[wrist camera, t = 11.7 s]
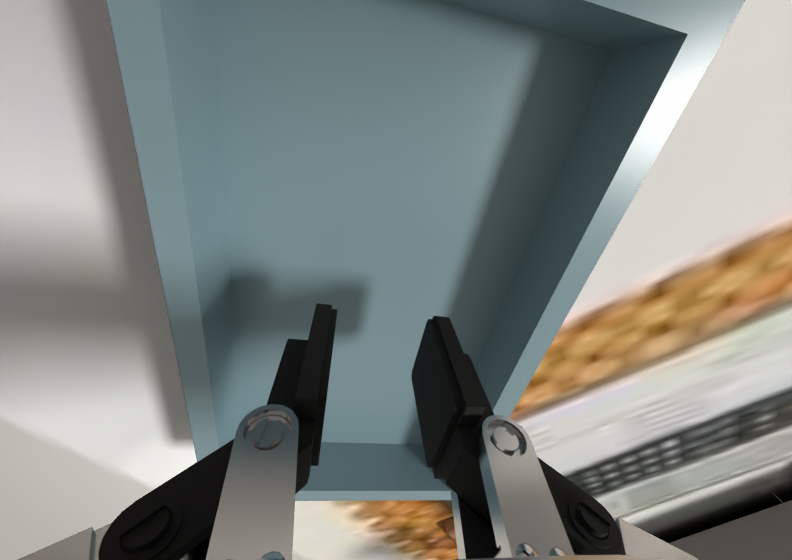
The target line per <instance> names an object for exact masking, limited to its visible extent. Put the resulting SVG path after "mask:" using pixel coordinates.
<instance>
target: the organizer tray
mask: <svg viewBox="0 0 792 560" xmlns="http://www.w3.org/2000/svg"><path fill="white" fill-rule="evenodd" d="M771 492H772V491H771ZM772 493H773V492H772ZM773 494H774V493H773ZM774 495H775V494H774ZM775 496H776V495H775ZM776 497H777V496H776ZM777 498H778V497H777ZM778 499H779V498H778ZM779 500H780V499H779ZM780 501H781V500H780ZM781 502H782V501H781ZM669 544H671V545H673V546H674V547H676V548H678V549H680V550H682V551H684V552H686V553H688V554H690V555H692V556H694V557H695V558H697V559H698V560H792V500H790V501H788V502H785V503H783V502H782V504H779V505H776V506H773V507H770V508H768V509H765V510H762V511H759V512H756V513H753V514H750V515H748V516H745V517H742V518H739V519H736V520H733V521H731V522H728V523H725V524H722V525H719V526H716V527H713V528H711V529H708V530H705V531H702V532H699V533H696V534H693V535H691V536H688V537H685V538H682V539H679V540H676V541H673V542H671V543H669Z"/></svg>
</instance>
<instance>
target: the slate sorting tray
mask: <svg viewBox="0 0 792 560" xmlns="http://www.w3.org/2000/svg"><path fill="white" fill-rule="evenodd" d="M744 2H745V0H107V5H108V10H109V15H110V20H111V25H112V31H113V36H114V41H115V46H116V51H117V56H118V61H119V66H120V71H121V76H122V81H123V87H124V92H125V97H126V102H127V107H128V112H129V117H130V122H131V127H132V132H133V137H134V142H135V148H136V153H137V158H138V163H139V168H140V173H141V178H142V183H143V188H144V193H145V198H146V204H147V209H148V214H149V219H150V224H151V229H152V234H153V239H154V244H155V249H156V254H157V260H158V265H159V270H160V275H161V280H162V285H163V290H164V295H165V300H166V305H167V310H168V315H169V321H170V326H171V331H172V336H173V341H174V346H175V351H176V356H177V361H178V366H179V371H180V377H181V382H182V387H183V392H184V397H185V402H186V407H187V412H188V417H189V422H190V427H191V433H192V438H193V443H194V448H195V453H196V458H197V462H198V461H200V460H201V459H203V458H205V457H206V456H208V455H209V454H211V453H212V452H214V451H216V450H217V449H219V448H220V447H222V446H223V445H225V444H227V443H228V442H230V441H231V440H233V439H234V438H235V434H236V431H237V428H238V426H239V423H240V422H241V421H242V419H243V418H244V417H245V416H246V415H247V414H248V413H250V412H251V411H253V410H254V409H256V408H259V407H261V406H264V405H267V402H268V398H269V395H270V392H271V389H272V386H273V383H274V380H275V376H276V373H277V370H278V367H279V364H280V361H281V358H282V355H283V351H284V348H285V345H286V342H287V340H288V338H289V339H300V340H308V337H309V333H310V329H311V324H312V320H313V316H314V311H315V307H316V304H317V303H319V304H329V305H332V309H337V318H336V326H335V335H334V343H333V351H332V359H331V368H330V376H329V384H328V392H327V400H326V408H325V416H324V424H323V432H322V440H321V448H320V456H319V464H318V466H311V469H310V476H309V478H308V484H306V485H305V486H304V487H303V488H302V489H301V490H300V491H299V492H298V493H296V494H295V501H356V500H451V488H450V487H449V486H448V485H447V484H446V482H445V479H434V475H433V470H432V468H429V467H428V466H427V463H426V458H425V452H424V447H423V441H422V436H421V430H420V424H419V419H418V413H417V407H416V402H415V396H414V390H413V385H412V378H411V376H412V369H413V366H414V362H415V359H416V356H417V352H418V349H419V346H420V342H421V339H422V336H423V333H424V329H425V326H426V323H427V320H428V319H432V318H433V316H442V317H449V318H450V320H451V323H452V325H453V328H454V330H455V333H456V335H457V338H458V340H459V342H460V345H461V347H462V350H463V352H464V353H465V354H468V355H469V357H470V358H471V361H472V363H473V365H474V368H475V370H476V372H477V375H478V377H479V380H480V382H481V384H482V387H483V389H484V391H485V394H486V396H487V398H488V401H489V403H490V405H491V408H492V410H493V413H494V415H501V416H505V417H508V418H509V417H510V415H511V413H512V412H513V410H514V408H515V406H516V405H517V403H518V401H519V399H520V397H521V396H522V394H523V392H524V390H525V389H526V387H527V385H528V383H529V382H530V380H531V378H532V376H533V374H534V373H535V371H536V369H537V367H538V366H539V364H540V362H541V360H542V359H543V357H544V355H545V353H546V352H547V350H548V348H549V346H550V344H551V343H552V341H553V339H554V337H555V336H556V334H557V332H558V330H559V329H560V327H561V325H562V323H563V321H564V320H565V318H566V316H567V314H568V313H569V311H570V309H571V307H572V306H573V304H574V302H575V300H576V299H577V297H578V295H579V293H580V291H581V290H582V288H583V286H584V284H585V283H586V281H587V279H588V277H589V276H590V274H591V272H592V270H593V268H594V267H595V265H596V263H597V261H598V260H599V258H600V256H601V254H602V253H603V251H604V249H605V247H606V246H607V244H608V242H609V240H610V238H611V237H612V235H613V233H614V231H615V230H616V228H617V226H618V224H619V223H620V221H621V219H622V217H623V215H624V214H625V212H626V210H627V208H628V207H629V205H630V203H631V201H632V200H633V198H634V196H635V194H636V193H637V191H638V189H639V187H640V185H641V184H642V182H643V180H644V178H645V177H646V175H647V173H648V171H649V170H650V168H651V166H652V164H653V162H654V161H655V159H656V157H657V155H658V154H659V152H660V150H661V148H662V147H663V145H664V143H665V141H666V140H667V138H668V136H669V134H670V132H671V131H672V129H673V127H674V125H675V124H676V122H677V120H678V118H679V117H680V115H681V113H682V111H683V109H684V108H685V106H686V104H687V102H688V101H689V99H690V97H691V95H692V94H693V92H694V90H695V88H696V87H697V85H698V83H699V81H700V79H701V78H702V76H703V74H704V72H705V71H706V69H707V67H708V65H709V64H710V62H711V60H712V58H713V56H714V55H715V53H716V51H717V49H718V48H719V46H720V44H721V42H722V41H723V39H724V37H725V35H726V34H727V32H728V30H729V28H730V26H731V25H732V23H733V21H734V19H735V18H736V16H737V14H738V12H739V11H740V9H741V7H742V5H743V3H744Z"/></svg>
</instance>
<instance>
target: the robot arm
mask: <svg viewBox="0 0 792 560" xmlns="http://www.w3.org/2000/svg"><path fill="white" fill-rule="evenodd" d="M336 318H337V309H332V305H329V304H319V303H317V304H316V307H315V311H314V316H313V320H312V324H311V329H310V333H309V337H308V340H300V339H289V338H288V340H287V342H286V345H285V348H284V351H283V355H282V358H281V361H280V364H279V367H278V370H277V373H276V376H275V380H274V383H273V386H272V389H271V392H270V395H269V398H268V402H267V405H264V406H261V407H259V408H256V409H254V410H253V411H251V412H250V413H248V414H247V415H246V416H245V417H244V418H243V419H242V421H241V422H240V423H239V426H238V428H237V431H236V434H235V438H234V439H233V440H231V441H230V442H228V443H227V444H225V445H223V446H222V447H220V448H219V449H217V450H216V451H214V452H212V453H211V454H209V455H208V456H206V457H205V458H203V459H201V460H200V461H198V462H197V463H195V464H194V465H192V466H190V467H189V468H187V469H186V470H184V471H183V472H181V473H179V474H178V475H176V476H175V477H173V478H172V479H170V480H168V481H167V482H165V483H164V484H162V485H161V486H159V487H157V488H156V489H154V490H153V491H151V492H150V493H148V494H146V495H145V496H143V497H142V498H140V499H139V500H137V501H135V502H134V503H133V504H132V505H130V506H129V507H128V508H126V509H125V510H124V511H123V512H122V513H121V514H120V515H119V516H118V517H117V518H116V519H115V520H114V521H113V522H112V523H111V524H108V525H106V526H104V527H102V528H99V529H97V530H95V531H94V530H93V528H92V527H91V528H88V529H86V530H84V531H81V532H79V533H77V534H75V535H72V536H70V537H68V538H65V539H63V540H61V541H59V542H56V543H54V544H52V545H50V546H47V547H45V548H43V549H41V550H38V551H36V552H34V553H32V554H29V555H27V556H25V557H23V558H20V559H18V560H292V547H293V528H294V509H295V494H296V493H298V492H299V491H300V490H301V489H302V488H303V487H304V486H305V485H306V484H308V478H309V476H310V469H311V466H318V464H319V456H320V448H321V440H322V432H323V424H324V416H325V408H326V400H327V392H328V384H329V376H330V368H331V359H332V351H333V343H334V335H335V326H336ZM411 378H412V385H413V390H414V396H415V402H416V407H417V413H418V419H419V424H420V430H421V436H422V441H423V447H424V452H425V458H426V463H427V466H428V467H429V468H432V470H433V475H434V479H445V482H446V484H447V485H448V486H449V487H450V488H451V500H452V508H453V517H454V525H455V534H456V542H457V551H458V559H456V560H698V559H697V558H695V557H694V556H692V555H690V554H688V553H686V552H684V551H682V550H680V549H678V548H676V547H674V546H673V545H671V544H669V543H667V542H665V541H663V540H661V539H659V538H657V537H655V536H653V535H651V534H649V533H647V532H645V531H643V530H642V529H640V528H638V527H636V526H634V525H632V524H630V523H628V522H626V521H624V520H622V519H620V518H617V519H616V520H614V519H613V518H612V516H611V515H610V514H609V512H608V511H607V510H606V509H605V508H604V507H603V506H602V505H601V504H600V503H599V502H598V501H596V500H595V499H594V498H593V497H591V496H590V495H589V494H587V493H586V492H584V491H583V490H582V489H580V488H579V487H578V486H576V485H575V484H573V483H572V482H571V481H569V480H568V479H567V478H565V477H564V476H563V475H561V474H560V473H558V472H557V471H556V470H554V469H553V468H552V467H550V466H549V465H547V464H546V463H545V462H543V461H542V460H541V459H539V458H538V457H537V455H536V453H535V450H534V447H533V445H532V442H531V440H530V438H529V436H528V434H527V433H526V431H525V430H524V429H523V428H522V427H521V426H520V425H519V424H518V423H516V422H515V421H513V420H512V419H510V418H508V417H505V416H501V415H494V413H493V410H492V408H491V405H490V403H489V401H488V398H487V396H486V394H485V391H484V389H483V387H482V384H481V382H480V380H479V377H478V375H477V372H476V370H475V368H474V365H473V363H472V361H471V358H470V357H469V355H468V354H465V353H464V352H463V350H462V347H461V345H460V342H459V340H458V338H457V335H456V333H455V330H454V328H453V325H452V323H451V320H450V318H449V317H442V316H433V318H432V319H428V320H427V323H426V326H425V329H424V333H423V336H422V339H421V342H420V346H419V349H418V352H417V356H416V359H415V362H414V366H413V369H412V376H411Z"/></svg>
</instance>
